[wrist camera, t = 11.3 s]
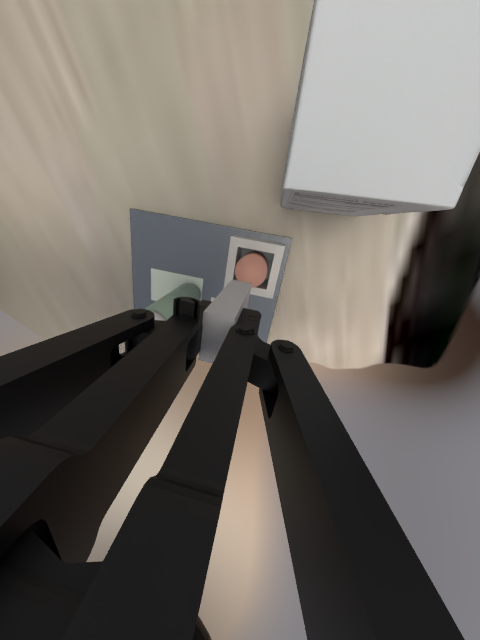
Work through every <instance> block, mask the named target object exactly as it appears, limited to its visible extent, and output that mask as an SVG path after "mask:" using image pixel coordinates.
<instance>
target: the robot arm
mask: <svg viewBox="0 0 480 640" xmlns="http://www.w3.org/2000/svg"><path fill="white" fill-rule="evenodd" d="M251 285H252V284H251V283H247V282H242V281H237V280H231V281H230V282H229V283H228V284H227V286H226V287H225V288H224V289H223V290H222V291H221V292H220V294H219V295H218V296H217V297H216V298H215V299H214V300H213V301H207V300H201V301H200V300H198V299H195V298H192V297H177V298H175V299H174V303H173V315H172V316H171V317H170V318H169V319H168V320H166V321H162V320H155V315H154V313H153V312H151V311H149V310H146V309H133V310H129V311H126V312H123V313H120V314H117V315H115V316H112V317H109V318H106V319H104V320H101V321H98V322H95V323H92V324H90V325H87V326H84V327H81V328H78V329H76V330H73V331H70V332H67V333H64V334H62V335H59V336H56V337H53V338H50V339H48V340H45V341H42V342H39V343H37V344H34V345H31V346H28V347H25V348H23V349H20V350H17V351H14V352H11V353H9V354H6V355H3V356H0V640H211V637H210V635H209V633H208V631H207V630H206V628H205V626H204V624H203V623H202V621H201V619H200V618H199V616H198V612H199V608H200V603H201V598H202V594H203V589H204V584H205V579H206V574H207V570H208V565H209V560H210V556H211V552H212V546H213V542H214V538H215V533H216V527H217V523H218V519H219V514H220V509H221V504H222V500H223V494H224V489H225V484H226V480H227V475H228V470H229V465H230V461H231V456H232V452H233V447H234V442H235V438H236V433H237V428H238V424H239V419H240V414H241V410H242V405H243V401H244V396H245V391H246V387H247V382H249V383H251V384H253V385H255V386H257V387H259V388H260V389H259V395H260V400H261V406H262V411H263V416H264V421H265V426H266V431H267V436H268V441H269V446H270V451H271V456H272V461H273V466H274V472H275V477H276V482H277V487H278V492H279V497H280V502H281V507H282V512H283V517H284V523H285V528H286V533H287V538H288V543H289V548H290V553H291V558H292V563H293V568H294V573H295V579H296V584H297V589H298V594H299V599H300V603H301V609H302V614H303V619H304V624H305V630H306V635H307V640H464V638H463V636H462V634H461V632H460V631H459V629H458V627H457V626H456V624H455V622H454V620H453V618H452V617H451V615H450V613H449V611H448V609H447V608H446V606H445V604H444V602H443V601H442V599H441V597H440V595H439V594H438V592H437V590H436V588H435V586H434V585H433V583H432V581H431V579H430V578H429V576H428V574H427V572H426V571H425V569H424V567H423V565H422V563H421V562H420V560H419V558H418V556H417V555H416V553H415V551H414V549H413V548H412V546H411V544H410V543H409V540H408V539H407V537H406V535H405V533H404V532H403V530H402V528H401V526H400V525H399V523H398V521H397V519H396V517H395V516H394V514H393V512H392V511H391V509H390V507H389V505H388V503H387V501H386V500H385V498H384V496H383V494H382V493H381V491H380V489H379V487H378V486H377V484H376V482H375V480H374V479H373V477H372V475H371V473H370V471H369V470H368V468H367V466H366V464H365V463H364V461H363V459H362V457H361V456H360V454H359V452H358V450H357V448H356V447H355V445H354V443H353V441H352V440H351V438H350V436H349V434H348V432H347V431H346V429H345V427H344V425H343V424H342V422H341V421H340V418H339V417H338V415H337V413H336V411H335V409H334V408H333V406H332V404H331V402H330V401H329V399H328V397H327V395H326V394H325V392H324V390H323V388H322V386H321V385H320V383H319V381H318V379H317V378H316V376H315V374H314V372H313V371H312V369H311V367H310V365H309V363H308V362H307V360H306V358H305V356H304V355H303V353H302V351H301V349H300V348H299V347H298V346H297V345H295V344H294V343H292V342H290V341H287V340H286V341H285V340H275V341H273V342H272V343H271V345H270V344H267V343H265V342H264V341H262V340H261V339H260V338H259V337H258V330H259V325H260V320H261V316H262V315H261V313H260V312H259V311H256V310H251V309H247V306H248V301H249V296H250V291H251ZM123 342H125V352H124V353H122V354H120V353H119V344H121V343H123ZM198 353H199V360H202V361H206V362H210V363H213V364H212V366H211V368H210V370H209V372H208V374H207V376H206V378H205V380H204V383H203V384H202V387H201V389H200V390H199V392H198V395H197V397H196V399H195V401H194V403H193V405H192V407H191V409H190V411H189V413H188V415H187V417H186V419H185V421H184V423H183V425H182V427H181V429H180V431H179V433H178V435H177V437H176V439H175V441H174V443H173V446H172V448H171V450H170V451H169V454H168V455H167V458H166V460H165V462H164V464H163V466H162V467H161V469H160V471H159V473H158V474H157V475H156V476H153V477H150V479H149V480H148V481H147V482H146V483H145V484H144V486H143V488H142V489H141V491H140V493H139V495H138V496H137V498H136V500H135V502H134V504H133V506H132V507H131V509H130V511H129V513H128V515H127V517H126V519H125V521H124V523H123V524H122V527H121V528H120V530H119V532H118V534H117V536H116V538H115V540H114V542H113V543H112V545H111V547H110V549H109V551H108V553H107V555H106V557H105V559H104V560H103V561H102V562H86V561H87V559H88V557H89V555H90V553H91V550H92V548H93V546H94V543H95V540H96V537H97V534H98V530H99V527H100V525H101V522H102V520H103V518H104V516H105V514H106V513H107V511H108V509H109V507H110V506H111V504H112V503H113V501H114V499H115V498H116V496H117V494H118V492H119V491H120V489H121V487H122V486H123V484H124V482H125V481H126V479H127V478H128V476H129V474H130V473H131V471H132V469H133V468H134V466H135V464H136V463H137V461H138V459H139V458H140V456H141V454H142V452H143V451H144V449H145V447H146V446H147V444H148V443H149V441H150V439H151V437H152V436H153V434H154V432H155V431H156V429H157V428H158V426H159V424H160V423H161V421H162V419H163V418H164V416H165V414H166V413H167V411H168V409H169V408H170V406H171V404H172V403H173V401H174V399H175V398H176V396H177V394H178V393H179V391H180V389H181V388H182V386H183V384H184V382H185V381H186V379H187V378H188V376H189V374H190V373H191V371H192V369H193V368H194V366H195V363H196V356H197V354H198Z"/></svg>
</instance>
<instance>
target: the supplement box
mask: <svg viewBox="0 0 480 640" xmlns="http://www.w3.org/2000/svg"><path fill="white" fill-rule="evenodd" d="M479 152H480V0H314V5H313V10H312V16H311V21H310V26H309V32H308V37H307V42H306V47H305V53H304V58H303V64H302V70H301V75H300V81H299V87H298V93H297V98H296V104H295V110H294V116H293V123H292V129H291V135H290V141H289V148H288V155H287V161H286V168H285V176H284V183H283V191H282V199H281V206H282V207H285V208H290V209H297V210H304V211H312V212H321V213H329V214H339V215H348V216H362V215H376V214H385V215H387V214H397V213H406V212H423V211H438V210H448V209H452V208H454V207H455V206H456V203H457V201H458V199H459V197H460V194H461V192H462V190H463V187H464V185H465V182H466V180H467V178H468V176H469V174H470V172H471V169H472V167H473V165H474V163H475V160H476V158H477V156H478V154H479Z"/></svg>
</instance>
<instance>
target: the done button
mask: <svg viewBox="0 0 480 640" xmlns="http://www.w3.org/2000/svg"><path fill="white" fill-rule="evenodd" d="M267 270H268V261H267V259H266V257H265V256H264V255H263V254H261V253H259V252H255V251H254V252H249V253H247V254H246V255H245V256H244V257H242V258H241V259H240V260H239V261H238V263H237V265H236V268H235V275H236V278H237V280H238V281H242V282H247V283H251V284H252V285H251V288H253V287H257V286H259V285H260V284H262V283H263V281H264V280H265V278H266V274H267Z"/></svg>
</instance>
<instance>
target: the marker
mask: <svg viewBox="0 0 480 640" xmlns="http://www.w3.org/2000/svg"><path fill="white" fill-rule="evenodd" d="M177 297H192V298H195V299H198V300H200V298H201V292H200V289H199V288H198V287H197V286H196V285H195V284H192V283H184V284H181V285H180V286H178V287H177V288H175V289H174V290H172V291H171V292H169V293H168V294H166V295H165V296H163V297H162V298H160V299H159V300H157V301H156V302H154V303H153V304H151V305H149V306H148V307H146V308H145V309H146V310H149V311H151V312H153V313H154V315H155V320H162V321H166V320H168V319H169V318H170V317H171V316H172V315H173V303H174V299H175V298H177Z"/></svg>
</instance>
